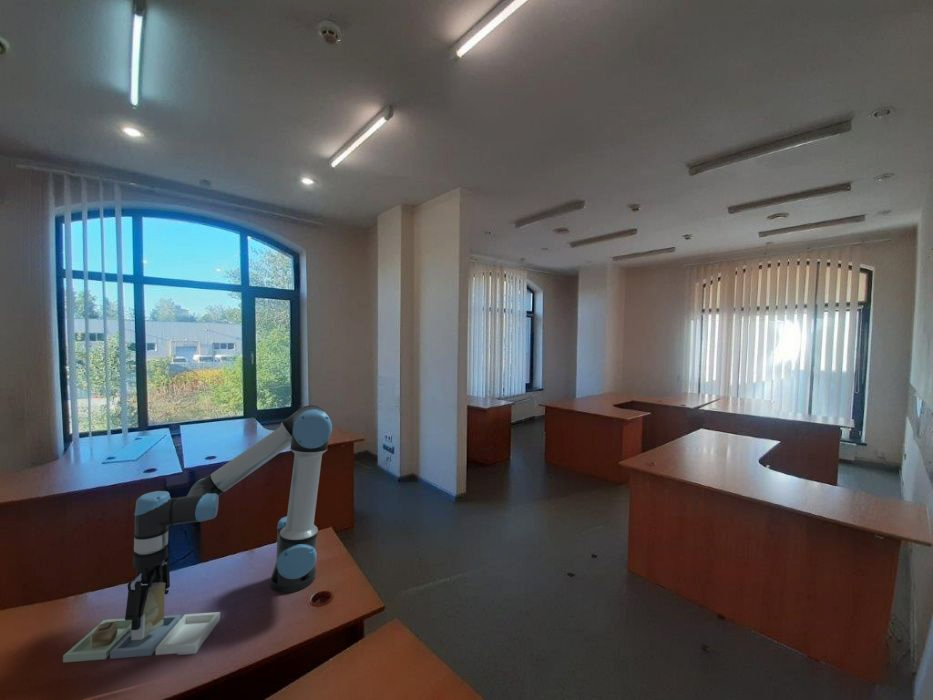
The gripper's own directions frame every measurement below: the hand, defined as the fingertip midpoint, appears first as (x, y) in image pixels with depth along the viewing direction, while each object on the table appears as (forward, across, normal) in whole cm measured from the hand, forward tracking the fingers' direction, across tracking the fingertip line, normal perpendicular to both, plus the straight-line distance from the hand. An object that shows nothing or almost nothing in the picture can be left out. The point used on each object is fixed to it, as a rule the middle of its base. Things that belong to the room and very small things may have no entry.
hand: (147, 628), depth 106 cm
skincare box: (+1, 0, 0) cm, 1 cm away
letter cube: (+3, 0, -11) cm, 11 cm away
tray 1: (+4, 0, -11) cm, 11 cm away
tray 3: (+3, 0, +11) cm, 12 cm away
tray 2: (+3, 0, 0) cm, 3 cm away
